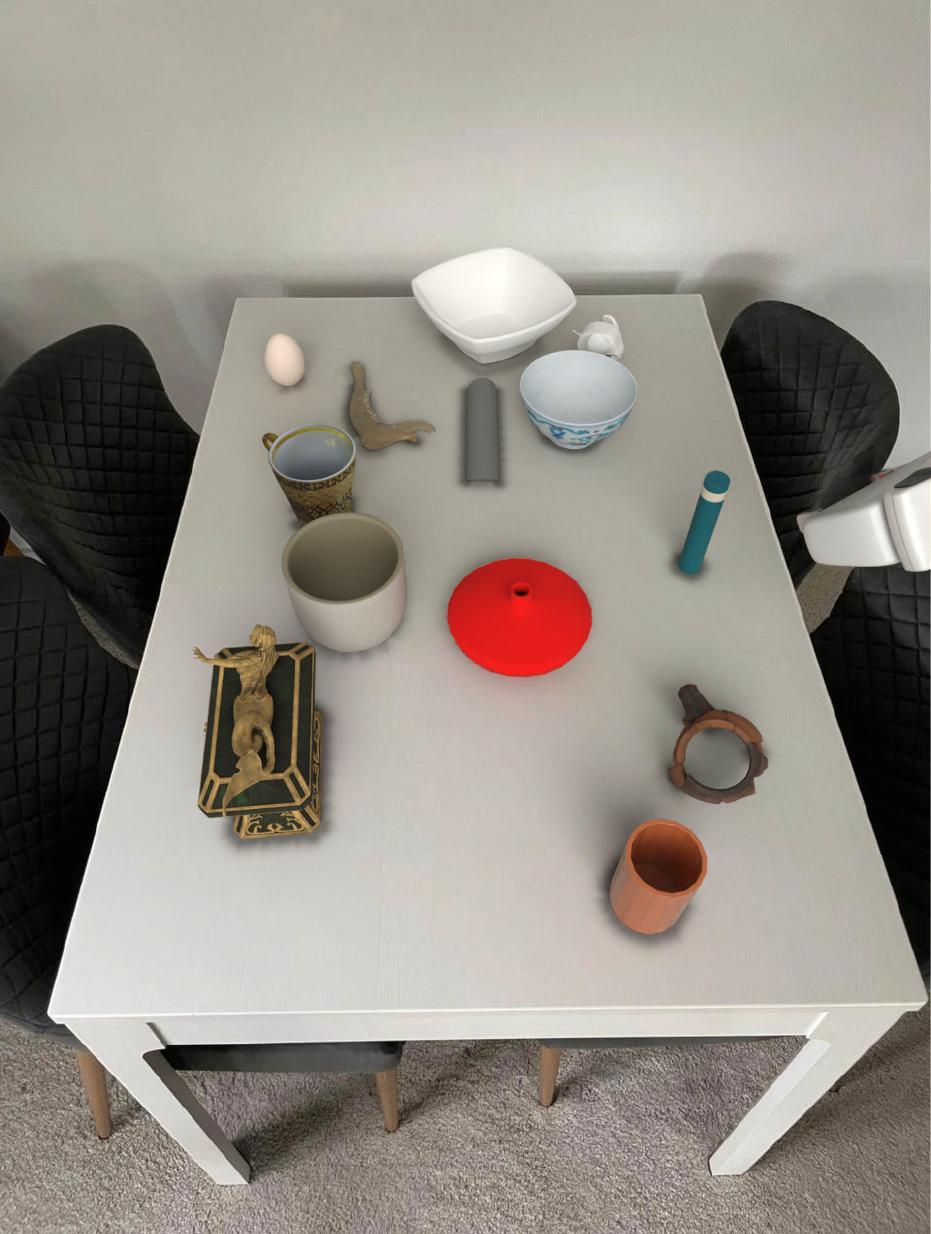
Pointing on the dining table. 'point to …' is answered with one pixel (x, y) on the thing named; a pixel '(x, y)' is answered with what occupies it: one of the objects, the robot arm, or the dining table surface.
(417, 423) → the jawbone
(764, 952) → the dining table surface
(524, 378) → the chinaware
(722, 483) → the teal banded tube
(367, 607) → the planter
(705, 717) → the broken brown pottery vessel
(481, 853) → the dining table surface
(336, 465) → the ceramic cup
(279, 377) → the egg
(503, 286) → the bowl
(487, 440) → the half round rod
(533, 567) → the red disc with nozzle
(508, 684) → the dining table surface
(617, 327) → the elephant figurine
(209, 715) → the decorative box
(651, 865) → the tumbler
